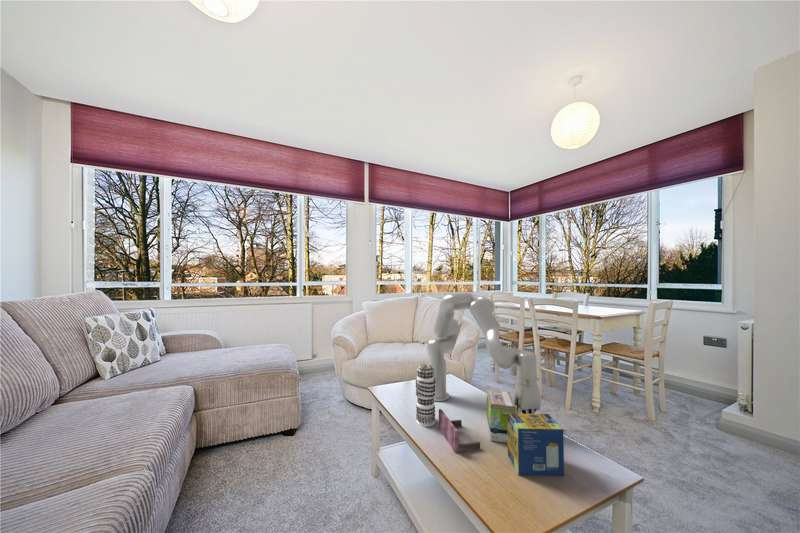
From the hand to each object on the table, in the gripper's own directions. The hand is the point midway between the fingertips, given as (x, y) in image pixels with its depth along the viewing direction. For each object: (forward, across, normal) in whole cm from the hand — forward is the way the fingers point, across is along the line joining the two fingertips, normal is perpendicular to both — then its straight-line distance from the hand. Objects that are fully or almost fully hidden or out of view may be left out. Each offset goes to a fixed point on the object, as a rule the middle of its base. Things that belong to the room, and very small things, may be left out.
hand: (528, 424), depth 124 cm
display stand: (+2, +32, 0) cm, 32 cm away
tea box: (+2, +13, 0) cm, 13 cm away
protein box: (+2, +13, +21) cm, 25 cm away
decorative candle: (+2, +41, -16) cm, 44 cm away
